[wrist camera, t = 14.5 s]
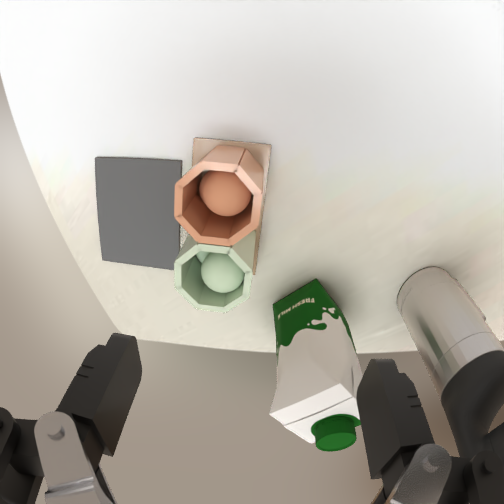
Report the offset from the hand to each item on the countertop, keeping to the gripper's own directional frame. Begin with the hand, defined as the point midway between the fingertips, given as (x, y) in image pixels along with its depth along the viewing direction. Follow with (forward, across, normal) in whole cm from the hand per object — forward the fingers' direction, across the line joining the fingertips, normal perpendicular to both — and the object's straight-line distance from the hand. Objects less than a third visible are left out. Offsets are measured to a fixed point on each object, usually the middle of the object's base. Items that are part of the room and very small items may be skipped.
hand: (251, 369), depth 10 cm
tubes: (+28, +4, +5) cm, 29 cm away
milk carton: (+28, -8, +18) cm, 34 cm away
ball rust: (+22, +5, +2) cm, 23 cm away
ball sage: (+22, +5, +8) cm, 24 cm away
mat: (+28, +15, +6) cm, 32 cm away
